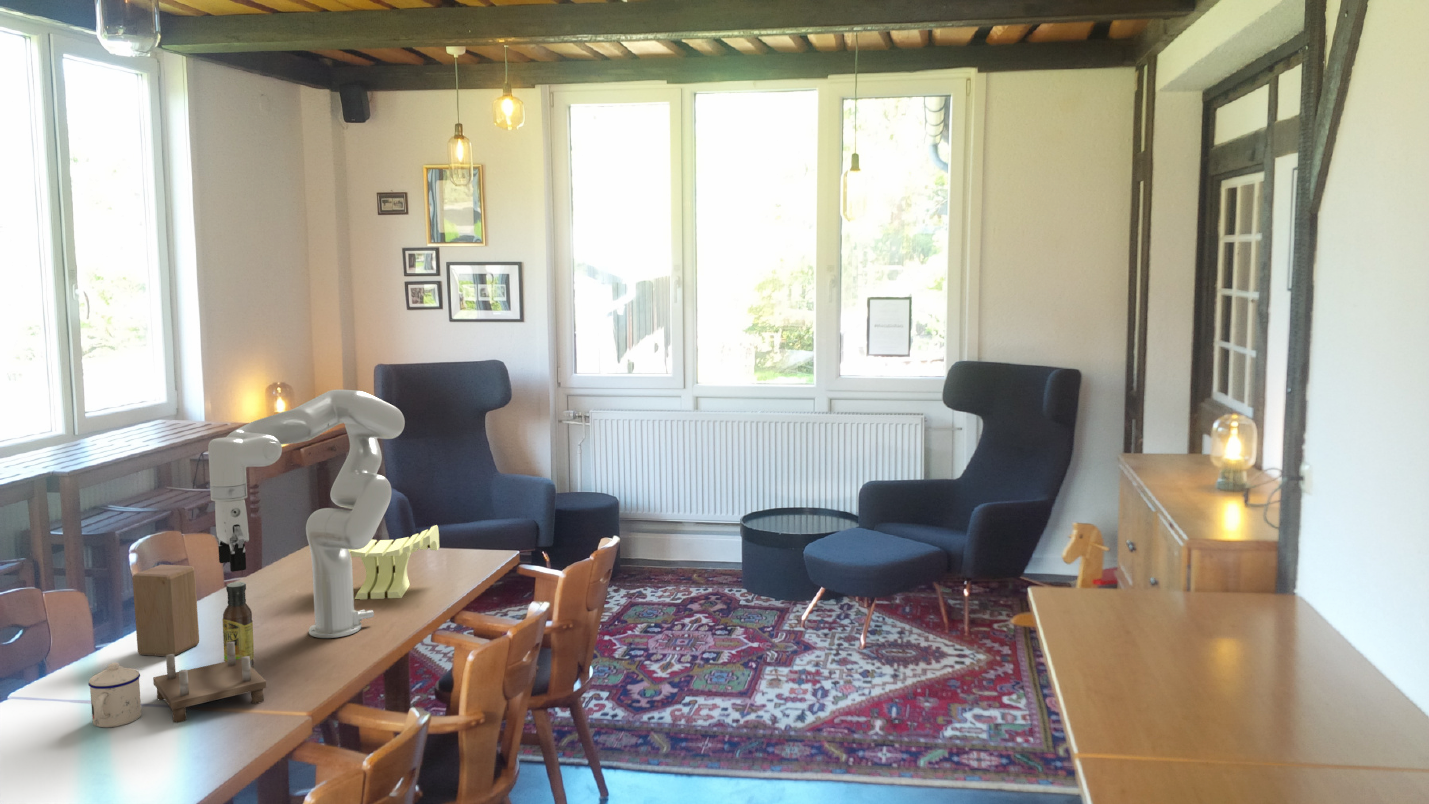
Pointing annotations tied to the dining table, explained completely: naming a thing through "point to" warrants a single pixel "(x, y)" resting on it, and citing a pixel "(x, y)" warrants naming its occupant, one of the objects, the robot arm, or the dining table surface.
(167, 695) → the peg shelf
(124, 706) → the teacup with lid
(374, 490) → the robot arm
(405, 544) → the slatted curved stool
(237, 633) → the sauce bottle
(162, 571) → the wooden block
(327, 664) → the dining table surface
